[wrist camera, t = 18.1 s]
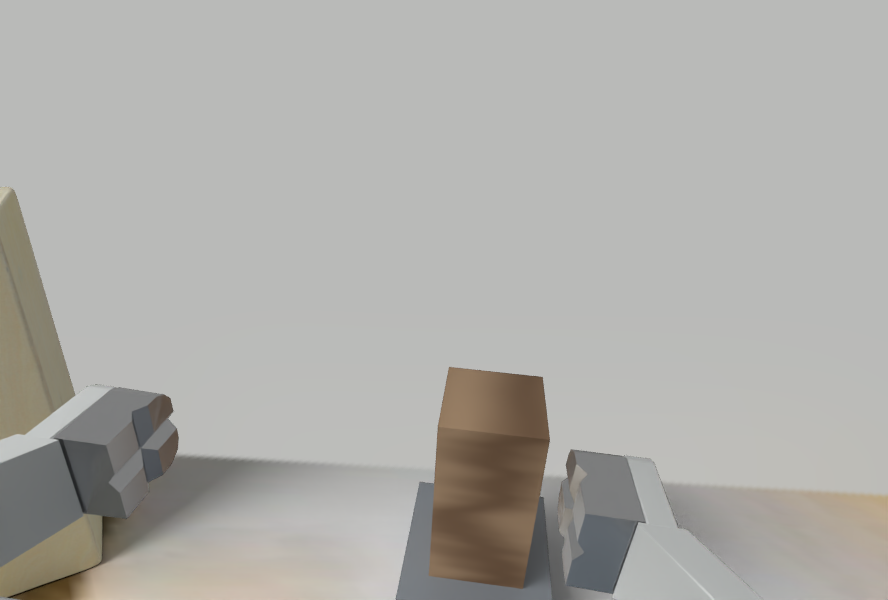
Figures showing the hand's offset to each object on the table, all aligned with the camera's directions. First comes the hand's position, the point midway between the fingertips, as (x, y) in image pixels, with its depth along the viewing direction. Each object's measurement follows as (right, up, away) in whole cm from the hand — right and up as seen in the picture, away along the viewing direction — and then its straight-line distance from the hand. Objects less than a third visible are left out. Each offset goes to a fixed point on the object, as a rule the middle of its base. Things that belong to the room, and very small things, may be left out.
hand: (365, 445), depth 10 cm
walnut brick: (+4, -11, +19) cm, 22 cm away
